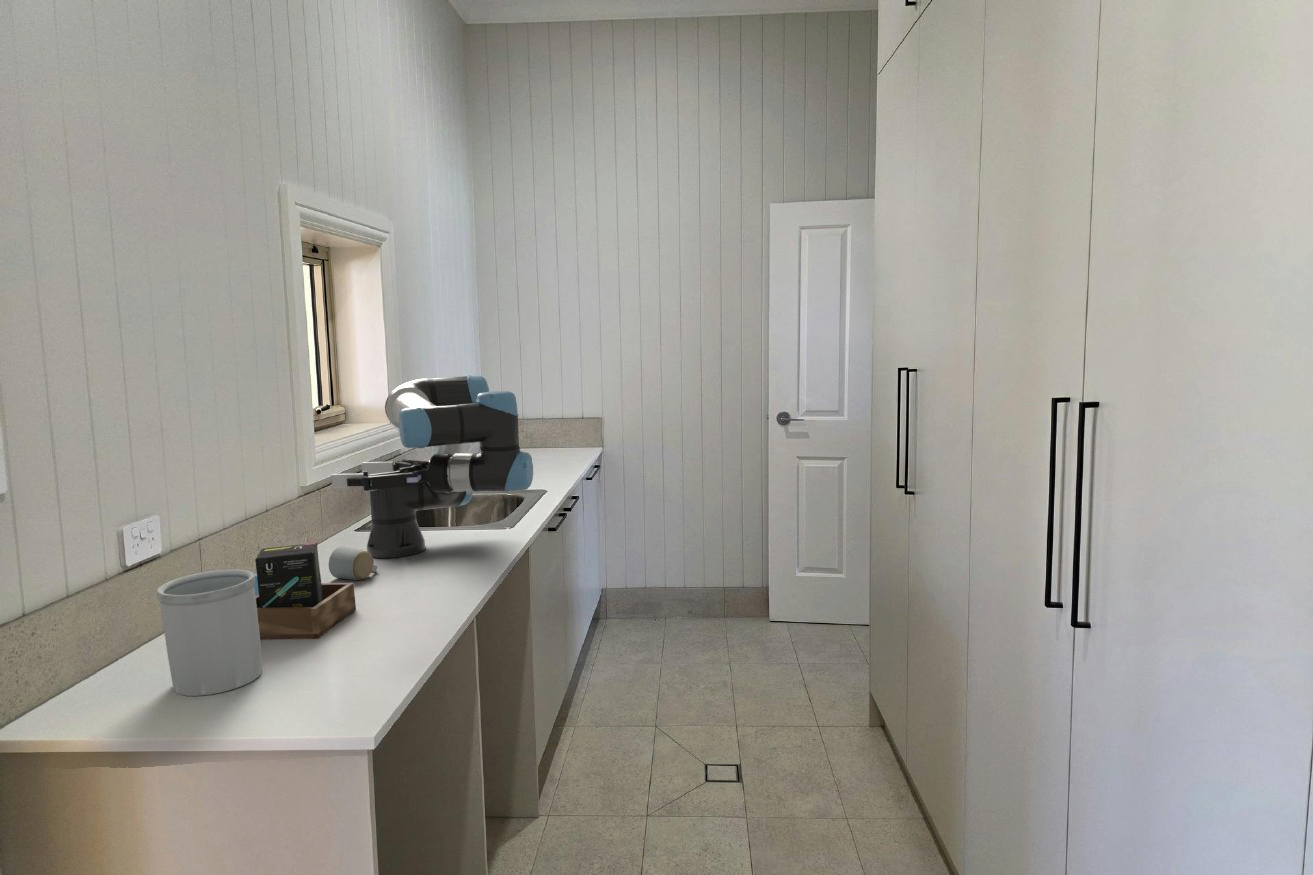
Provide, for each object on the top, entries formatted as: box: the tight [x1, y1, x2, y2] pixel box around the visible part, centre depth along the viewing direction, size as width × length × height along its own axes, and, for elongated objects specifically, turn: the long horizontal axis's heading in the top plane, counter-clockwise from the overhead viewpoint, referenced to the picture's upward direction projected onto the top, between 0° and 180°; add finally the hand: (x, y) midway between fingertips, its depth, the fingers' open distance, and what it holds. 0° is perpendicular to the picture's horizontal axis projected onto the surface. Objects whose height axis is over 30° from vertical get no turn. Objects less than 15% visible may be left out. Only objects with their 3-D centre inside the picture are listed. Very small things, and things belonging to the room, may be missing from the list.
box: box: [255, 582, 357, 640], centre depth 174 cm, size 17×17×6 cm
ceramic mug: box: [328, 545, 378, 581], centre depth 207 cm, size 11×8×8 cm
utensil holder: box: [156, 568, 263, 697], centre depth 145 cm, size 15×15×18 cm
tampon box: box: [254, 542, 323, 608], centre depth 173 cm, size 11×9×15 cm
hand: (348, 474), depth 169 cm, fingers open, 13 cm apart
